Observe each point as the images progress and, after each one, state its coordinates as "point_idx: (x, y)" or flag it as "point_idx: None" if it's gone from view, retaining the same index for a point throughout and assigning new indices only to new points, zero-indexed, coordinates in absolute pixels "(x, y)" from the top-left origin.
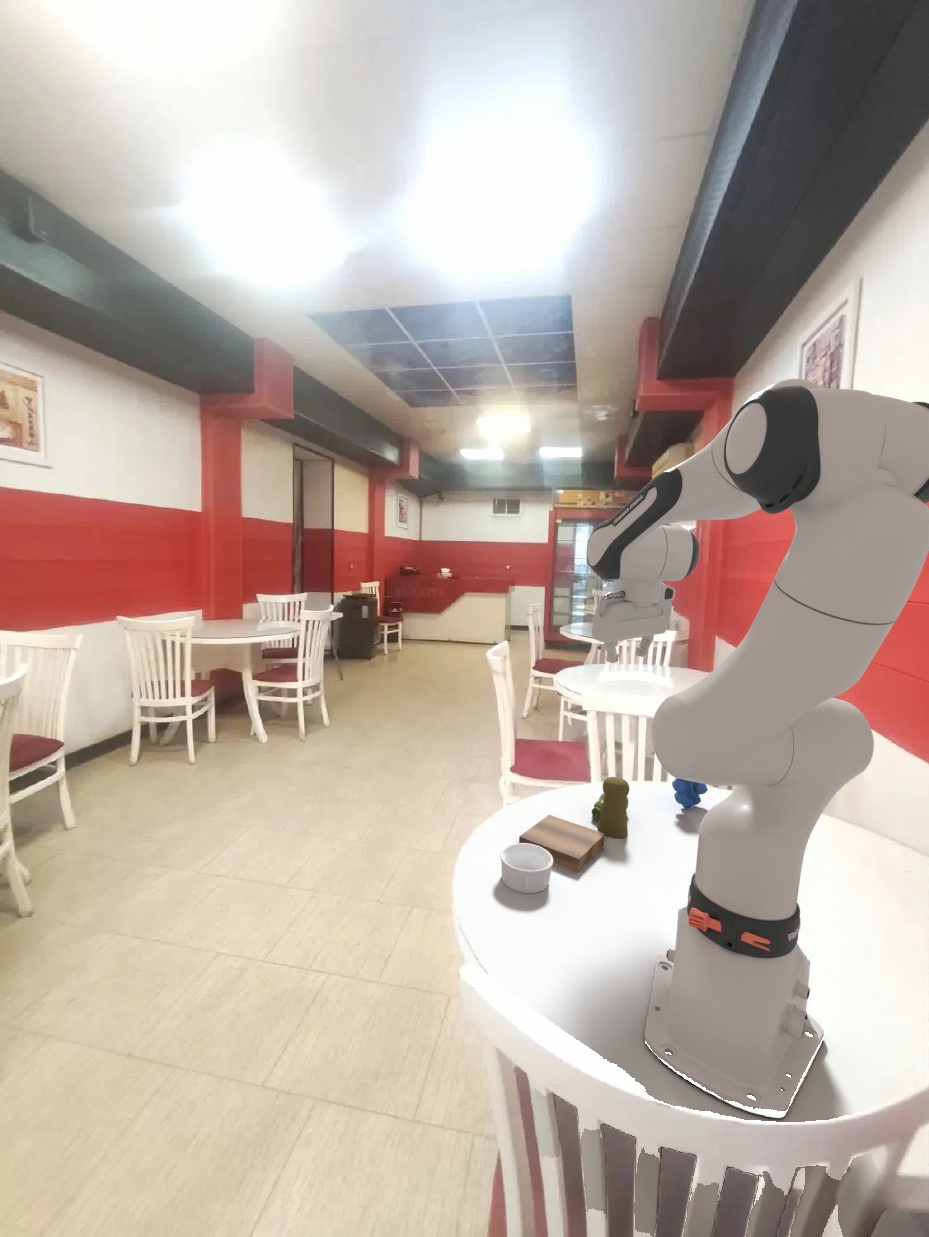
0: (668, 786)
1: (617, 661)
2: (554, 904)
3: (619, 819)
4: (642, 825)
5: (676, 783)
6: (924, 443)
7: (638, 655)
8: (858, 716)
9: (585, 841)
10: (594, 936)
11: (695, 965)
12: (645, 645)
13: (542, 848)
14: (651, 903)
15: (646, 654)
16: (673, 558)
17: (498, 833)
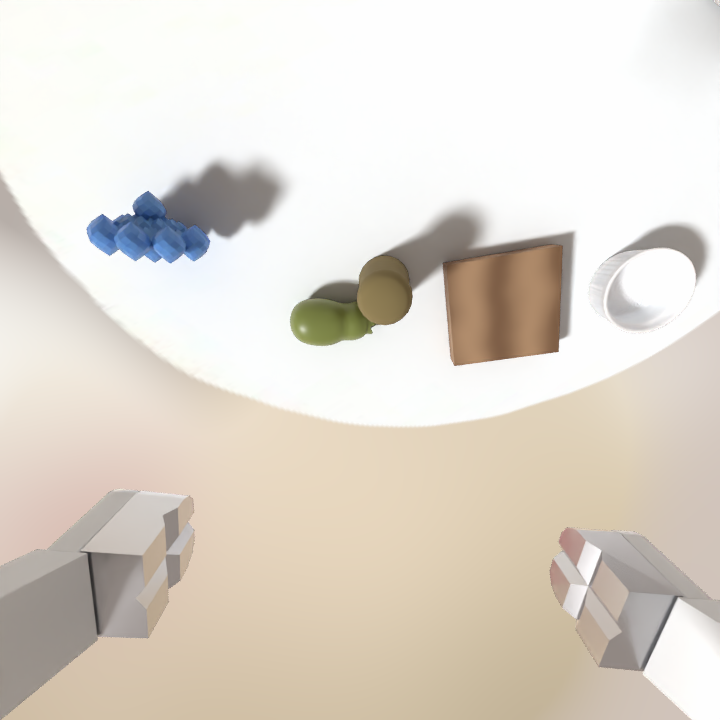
0: (128, 308)
1: (574, 528)
2: (658, 217)
3: (398, 267)
4: (320, 258)
5: (201, 244)
6: None
7: (191, 531)
8: None
9: (497, 272)
10: (704, 124)
11: None
12: (49, 605)
13: (608, 291)
14: (559, 107)
15: (121, 496)
16: None
17: (525, 391)
